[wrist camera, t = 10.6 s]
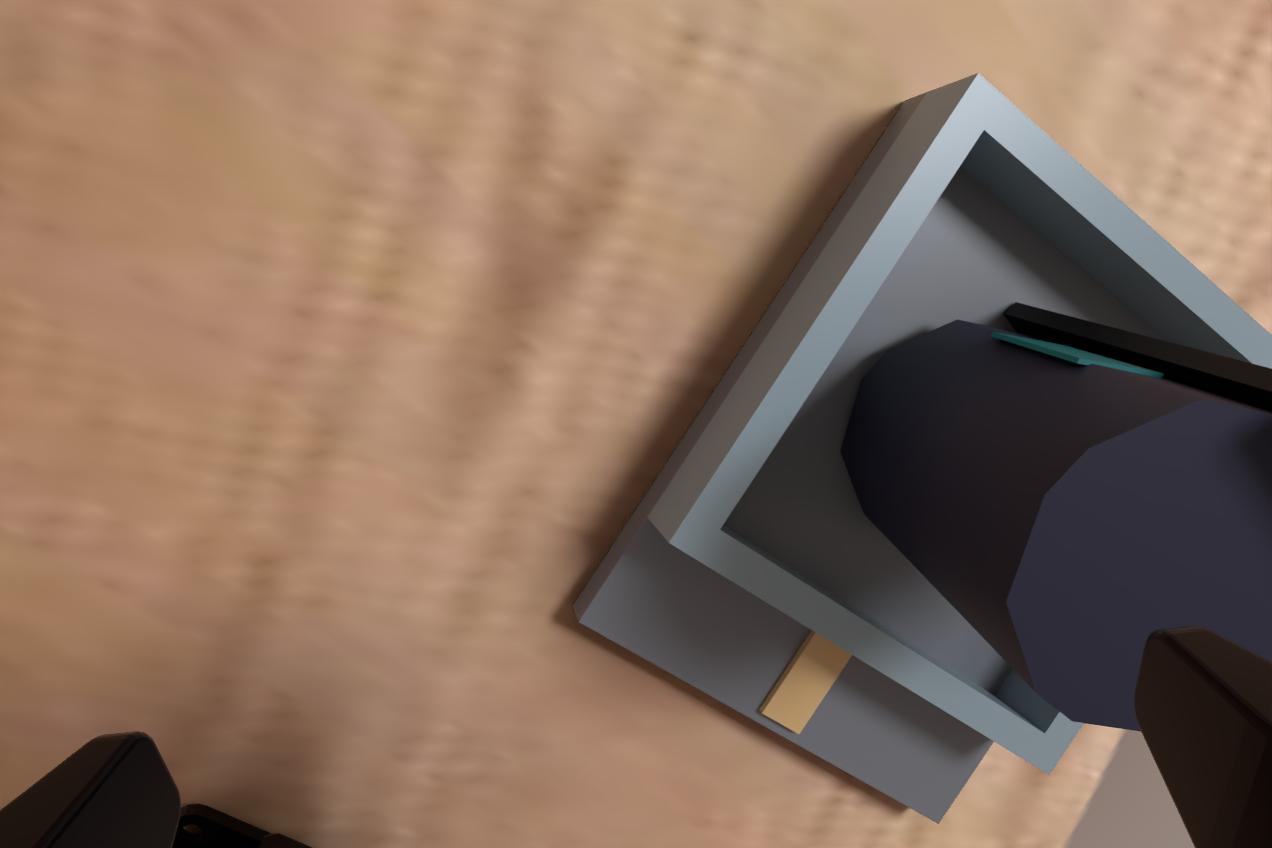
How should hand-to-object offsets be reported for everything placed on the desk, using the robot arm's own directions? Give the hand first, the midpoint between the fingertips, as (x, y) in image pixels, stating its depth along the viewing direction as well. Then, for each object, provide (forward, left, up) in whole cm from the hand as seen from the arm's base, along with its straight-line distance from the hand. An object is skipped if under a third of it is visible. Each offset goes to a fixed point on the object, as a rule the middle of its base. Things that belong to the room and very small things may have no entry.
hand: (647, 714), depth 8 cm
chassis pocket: (+5, -9, -13) cm, 16 cm away
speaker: (+5, -9, -12) cm, 16 cm away
